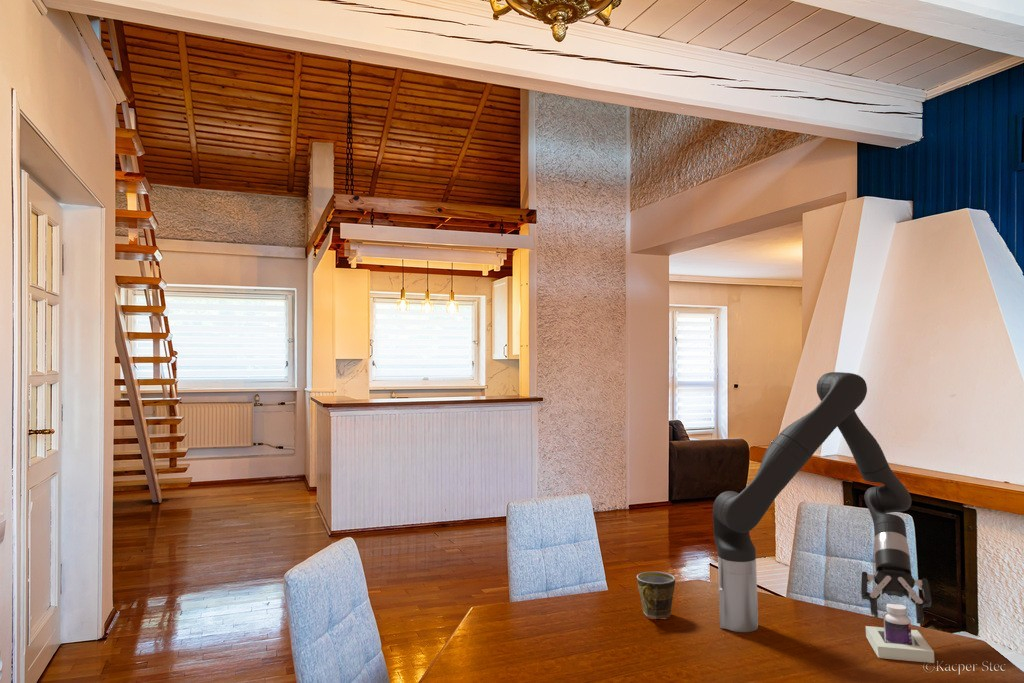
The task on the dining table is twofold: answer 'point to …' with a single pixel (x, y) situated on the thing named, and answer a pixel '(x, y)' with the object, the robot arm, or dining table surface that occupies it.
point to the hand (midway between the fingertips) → (897, 619)
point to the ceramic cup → (656, 593)
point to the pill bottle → (897, 625)
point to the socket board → (900, 646)
